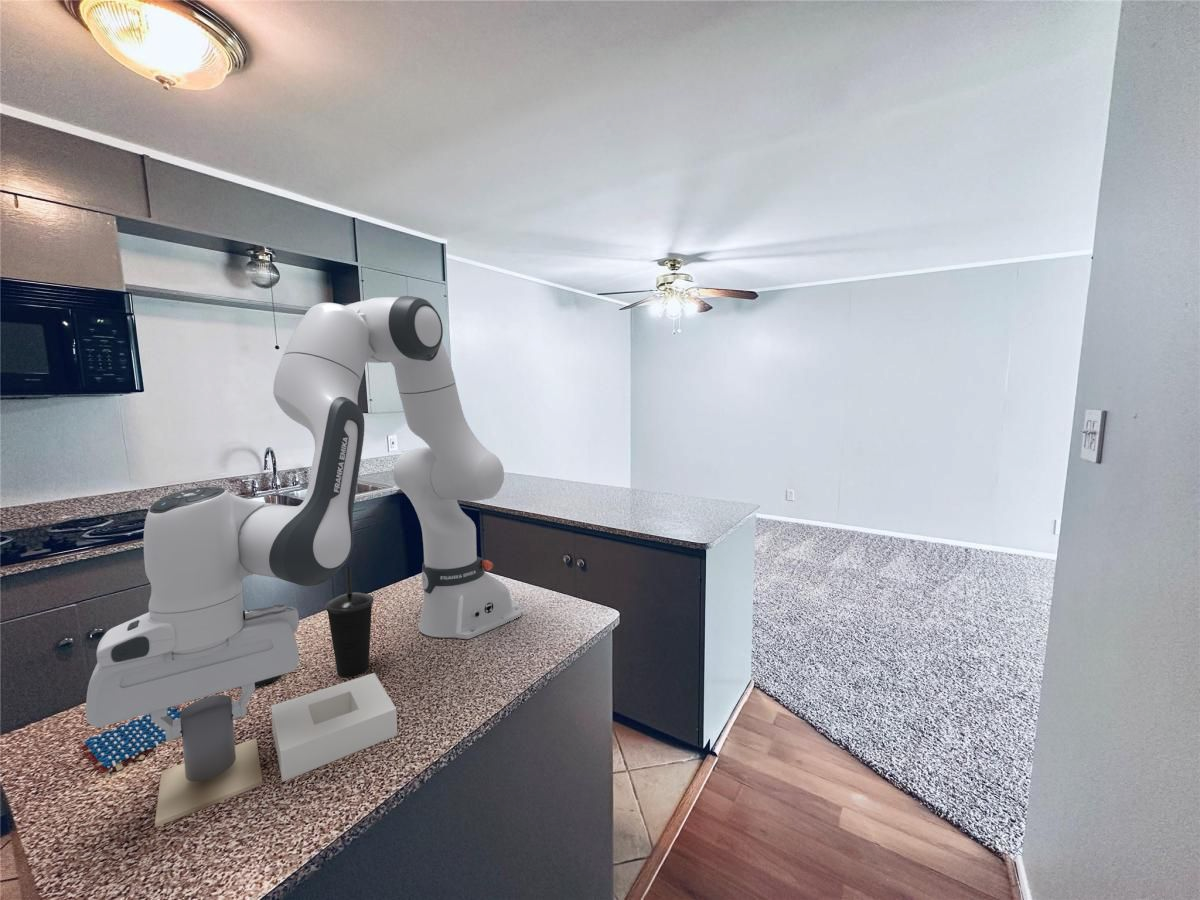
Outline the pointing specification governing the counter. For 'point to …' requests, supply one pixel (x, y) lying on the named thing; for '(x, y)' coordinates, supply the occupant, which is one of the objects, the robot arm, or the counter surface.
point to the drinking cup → (350, 630)
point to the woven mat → (126, 743)
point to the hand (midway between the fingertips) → (207, 726)
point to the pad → (207, 785)
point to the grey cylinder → (208, 737)
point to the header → (331, 724)
